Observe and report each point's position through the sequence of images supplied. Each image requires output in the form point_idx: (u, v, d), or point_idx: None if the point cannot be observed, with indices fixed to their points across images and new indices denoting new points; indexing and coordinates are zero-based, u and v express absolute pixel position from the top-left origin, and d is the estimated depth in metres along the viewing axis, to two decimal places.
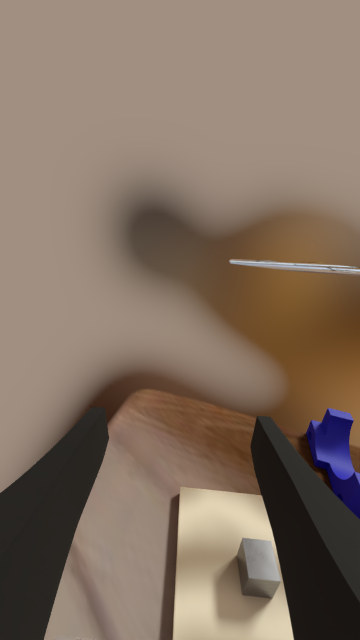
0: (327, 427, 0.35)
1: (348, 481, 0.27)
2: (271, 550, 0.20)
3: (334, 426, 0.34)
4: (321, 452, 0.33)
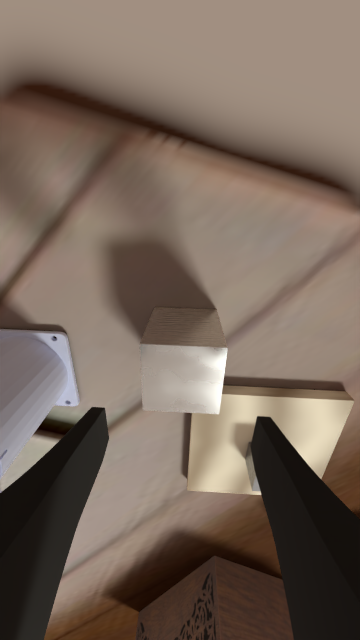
0: None
1: None
2: None
3: None
4: None
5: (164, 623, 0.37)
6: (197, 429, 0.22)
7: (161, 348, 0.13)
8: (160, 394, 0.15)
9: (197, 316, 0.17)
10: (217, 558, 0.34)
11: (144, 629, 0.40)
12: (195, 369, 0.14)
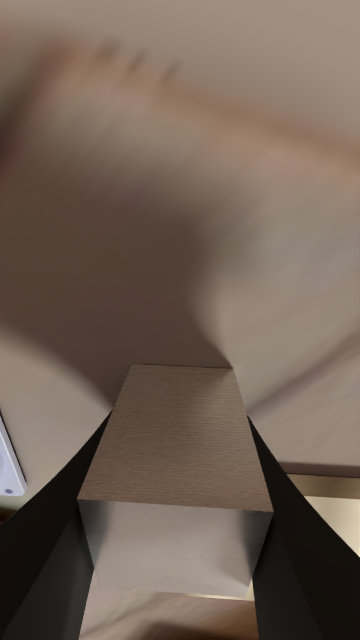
0: None
1: None
2: None
3: None
4: None
5: None
6: None
7: (125, 508, 0.06)
8: (130, 569, 0.07)
9: (202, 389, 0.10)
10: None
11: None
12: (200, 540, 0.07)
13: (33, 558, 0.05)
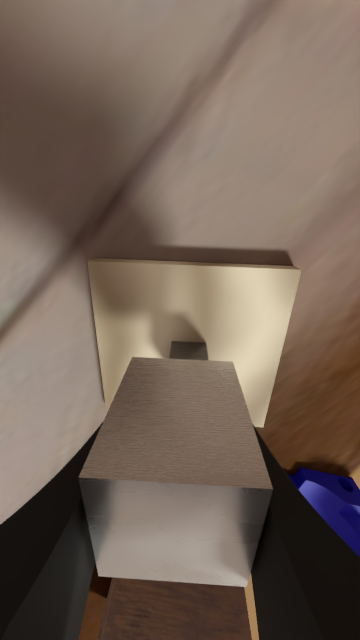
0: (350, 525, 0.22)
1: None
2: None
3: (349, 536, 0.22)
4: (315, 489, 0.23)
5: (106, 603, 0.32)
6: (103, 323, 0.17)
7: (126, 486, 0.06)
8: (130, 556, 0.07)
9: (202, 380, 0.10)
10: None
11: (104, 615, 0.36)
12: (200, 522, 0.07)
13: (33, 558, 0.05)
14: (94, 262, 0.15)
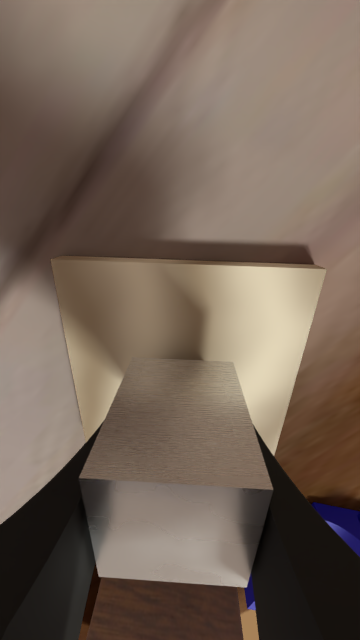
0: None
1: None
2: None
3: None
4: None
5: None
6: (75, 336, 0.14)
7: (127, 487, 0.06)
8: (130, 556, 0.07)
9: (202, 380, 0.10)
10: None
11: None
12: (201, 522, 0.07)
13: (33, 558, 0.05)
14: (59, 261, 0.12)
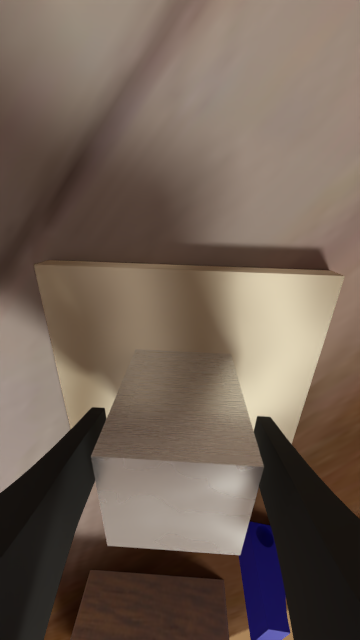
0: None
1: (281, 591, 0.17)
2: None
3: None
4: None
5: None
6: (64, 349, 0.12)
7: (133, 464, 0.07)
8: (136, 527, 0.08)
9: (201, 371, 0.11)
10: (94, 572, 0.25)
11: None
12: (199, 496, 0.07)
13: None
14: (44, 266, 0.11)
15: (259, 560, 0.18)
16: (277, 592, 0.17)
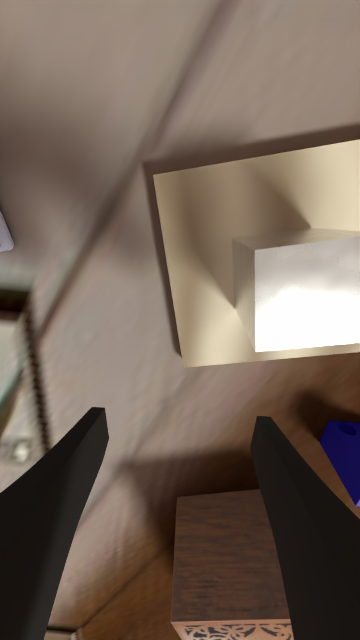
0: None
1: None
2: None
3: None
4: None
5: None
6: (174, 249, 0.16)
7: (285, 251, 0.10)
8: (280, 324, 0.11)
9: (296, 232, 0.13)
10: (180, 498, 0.29)
11: None
12: (332, 277, 0.10)
13: None
14: (161, 175, 0.14)
15: (347, 443, 0.21)
16: None
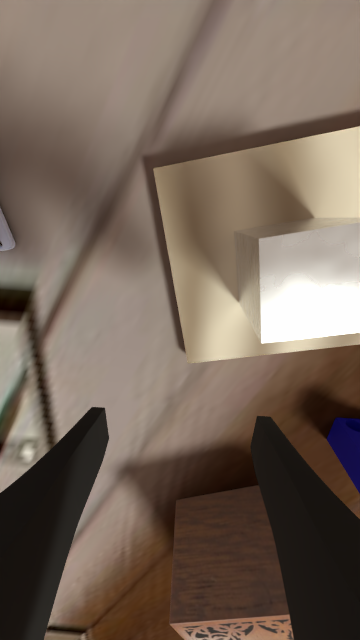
0: None
1: None
2: None
3: None
4: None
5: None
6: (175, 244, 0.16)
7: (290, 239, 0.10)
8: (286, 314, 0.11)
9: (299, 222, 0.13)
10: (179, 501, 0.29)
11: None
12: (338, 264, 0.10)
13: None
14: (161, 168, 0.14)
15: (356, 440, 0.20)
16: None
